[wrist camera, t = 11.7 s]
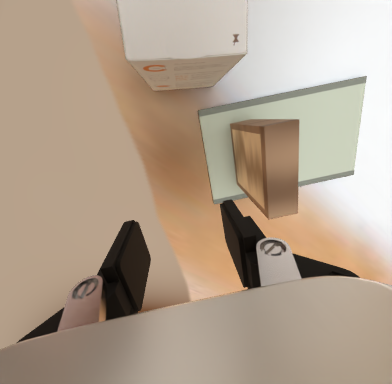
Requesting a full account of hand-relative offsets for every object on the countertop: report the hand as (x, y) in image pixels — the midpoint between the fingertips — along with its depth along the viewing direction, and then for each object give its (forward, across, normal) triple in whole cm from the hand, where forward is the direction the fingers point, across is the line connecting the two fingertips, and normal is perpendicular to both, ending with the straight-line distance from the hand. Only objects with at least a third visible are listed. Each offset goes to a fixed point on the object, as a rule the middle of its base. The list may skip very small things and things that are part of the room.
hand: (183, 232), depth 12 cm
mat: (+17, -16, 0) cm, 23 cm away
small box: (+18, -3, -13) cm, 22 cm away
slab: (+17, -10, 0) cm, 19 cm away
